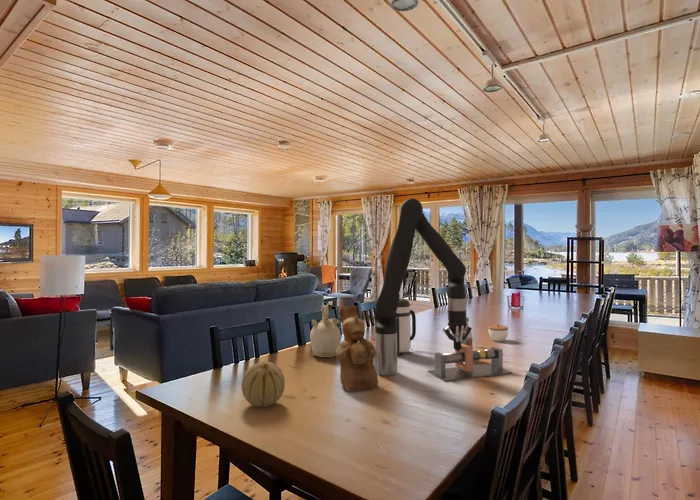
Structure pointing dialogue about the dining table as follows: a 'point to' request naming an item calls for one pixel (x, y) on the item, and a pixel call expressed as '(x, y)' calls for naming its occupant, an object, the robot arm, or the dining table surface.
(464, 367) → the collar
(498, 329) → the lidded jar
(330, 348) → the jug
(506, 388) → the dining table surface
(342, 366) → the ceramic vessel
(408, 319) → the coffee press
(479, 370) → the rail
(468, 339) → the milk bottle
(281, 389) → the cantaloupe
